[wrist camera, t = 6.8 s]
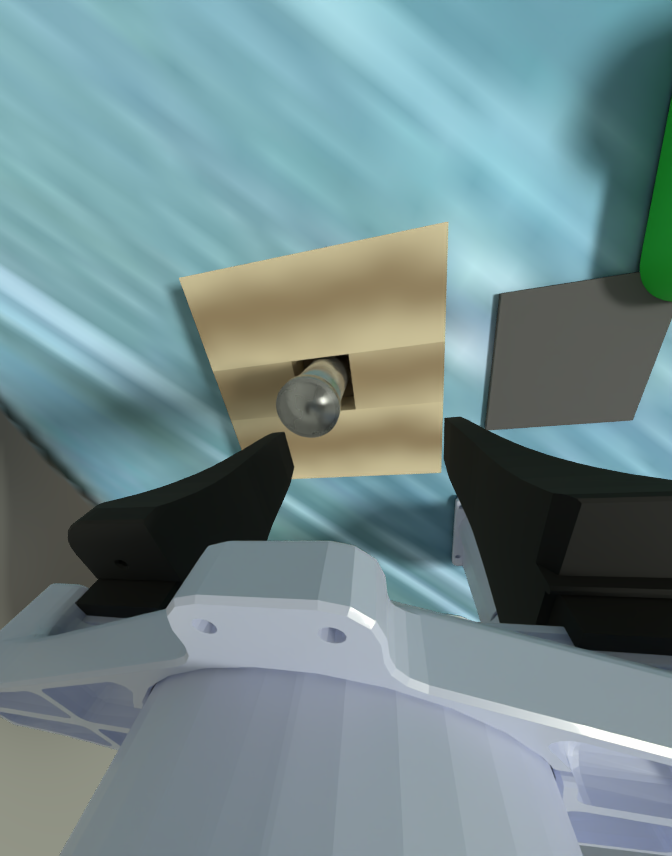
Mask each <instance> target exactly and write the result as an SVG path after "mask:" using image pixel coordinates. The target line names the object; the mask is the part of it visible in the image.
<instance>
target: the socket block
mask: <svg viewBox="0 0 672 856" xmlns="http://www.w3.org/2000/svg"><path fill="white" fill-rule="evenodd" d="M447 248H448V222H444V223H440V224H435V225H430V226H425V227H420V228H416V229H411V230H406V231H401V232H397V233H392V234H387V235H382V236H378V237H373V238H368V239H363V240H358V241H354V242H349V243H344V244H339V245H335V246H330V247H325V248H320V249H315V250H311V251H306V252H301V253H296V254H292V255H287V256H282V257H277V258H272V259H268V260H263V261H258V262H253V263H249V264H244V265H239V266H234V267H229V268H225V269H220V270H215V271H210V272H206V273H201V274H196V275H191V276H186V277H182V278H179V280H180V282H181V285H182V288H183V291H184V293H185V296H186V299H187V302H188V304H189V307H190V310H191V312H192V315H193V318H194V321H195V323H196V326H197V329H198V332H199V334H200V337H201V340H202V343H203V345H204V348H205V351H206V353H207V356H208V359H209V362H210V364H211V367H212V370H213V373H214V375H215V378H216V381H217V384H218V386H219V389H220V392H221V394H222V397H223V400H224V403H225V405H226V408H227V411H228V414H229V416H230V419H231V422H232V424H233V427H234V430H235V433H236V435H237V438H238V441H239V444H240V446H241V449H242V450H243V449H244V448H246V447H248V446H249V445H251V444H253V443H254V442H256V441H258V440H259V439H261V438H263V437H265V436H266V435H268V434H271V433H275V432H285V435H286V439H287V442H288V446H289V449H290V453H291V457H292V460H293V464H294V471H293V475H292V479H302V478H326V477H350V476H374V475H398V474H422V473H441V454H442V420H443V385H444V351H445V316H446V282H447ZM336 355H344V356H345V357H346V358H347V359H348V361H349V363H350V369H351V374H350V377H349V380H348V383H347V385H346V388H345V391H344V393H343V396H342V399H341V411H340V415H339V418H338V421H337V423H336V425H335V426H334V428H333V429H332V430H331V431H330V432H328V433H327V434H325V435H323V436H320V437H315V438H308V437H302V436H299V435H297V434H295V433H293V432H291V431H290V430H289V429H287V428H286V427H285V426H284V424H283V423H282V422H281V420H280V418H279V416H278V414H277V410H276V399H277V395H278V393H279V391H280V389H281V388H282V387H283V386H284V385H285V384H286V383H287V382H288V381H289V380H290V379H292V378H294V377H296V376H299V375H300V374H301V373H302V372H303V371H304V370H305V369H306V368H307V367H308V366H309V365H310V364H311V363H312V362H313V361H314V360H315V359H316V358H321V357H328V356H336Z"/></svg>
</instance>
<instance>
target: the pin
mask: <svg viewBox="0 0 672 856" xmlns="http://www.w3.org/2000/svg"><path fill="white" fill-rule="evenodd" d="M350 374H351V369H350V363H349V361H348V359H347V358H346V357H345V356H344V355H336V356H328V357H321V358H316V359H315V360H314V361H313V362H312V363H311V364H310V365H309V366H308V367H307V368H306V369H305V370H304V371H303V372H302V373H301V374H300V375H299V376H296V377H294V378H292V379H290V380H289V381H288V382H287V383H286V384H285V385H284V386H283V387H282V388H281V389H280V391H279V393H278V395H277V399H276V410H277V414H278V416H279V418H280V420H281V422H282V423H283V424H284V426H285V427H286V428H287V429H289V430H290V431H291V432H293V433H295V434H297V435H299V436H302V437H308V438H315V437H320V436H323V435H325V434H327V433H328V432H330V431H331V430H332V429H333V428H334V426H335V425H336V423H337V421H338V418H339V415H340V411H341V399H342V396H343V393H344V391H345V388H346V385H347V383H348V380H349V377H350Z"/></svg>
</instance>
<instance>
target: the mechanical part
mask: <svg viewBox="0 0 672 856" xmlns="http://www.w3.org/2000/svg"><path fill="white" fill-rule="evenodd" d="M640 276H641V280H642V283H643V285H644V287H645V288H646V290H647V291H648V292H649V293H650V294H652V295H653V296H655V297H656V298H659V299H661V300H665V301H671V302H672V97H671V102H670V108H669V113H668V118H667V123H666V128H665V134H664V139H663V144H662V149H661V155H660V160H659V165H658V170H657V175H656V181H655V186H654V191H653V196H652V202H651V207H650V212H649V217H648V222H647V228H646V233H645V238H644V243H643V249H642V254H641V259H640Z"/></svg>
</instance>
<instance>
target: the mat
mask: <svg viewBox="0 0 672 856" xmlns="http://www.w3.org/2000/svg"><path fill="white" fill-rule="evenodd" d="M671 319H672V302H671V301H665V300H661V299H659V298H656V297H655V296H653V295H652V294H650V293H649V292H648V291H647V290H646V288H645V287H644V285H643V283H642V280H641V276H640V272H635V273H629V274H623V275H616V276H610V277H603V278H597V279H591V280H584V281H578V282H571V283H565V284H558V285H552V286H546V287H539V288H533V289H526V290H520V291H514V292H507V293H501V294H500V295H499V304H498V313H497V322H496V331H495V341H494V350H493V359H492V368H491V377H490V386H489V395H488V404H487V413H486V422H485V429H486V430H498V429H513V428H527V427H542V426H557V425H571V424H586V423H600V422H615V421H630V420H633V418H634V415H635V413H636V410H637V408H638V405H639V402H640V400H641V397H642V395H643V392H644V389H645V387H646V384H647V382H648V379H649V376H650V374H651V371H652V369H653V366H654V363H655V361H656V358H657V355H658V353H659V350H660V348H661V345H662V342H663V340H664V337H665V335H666V332H667V329H668V327H669V324H670V322H671Z"/></svg>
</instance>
